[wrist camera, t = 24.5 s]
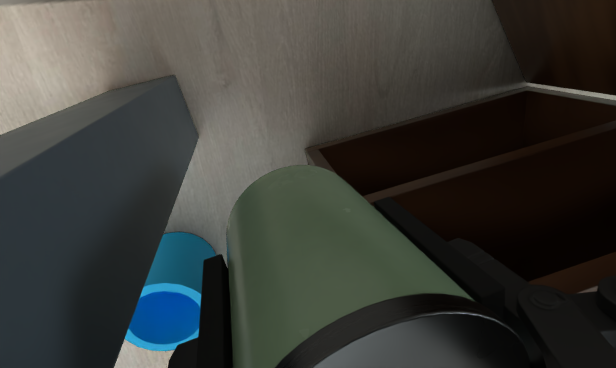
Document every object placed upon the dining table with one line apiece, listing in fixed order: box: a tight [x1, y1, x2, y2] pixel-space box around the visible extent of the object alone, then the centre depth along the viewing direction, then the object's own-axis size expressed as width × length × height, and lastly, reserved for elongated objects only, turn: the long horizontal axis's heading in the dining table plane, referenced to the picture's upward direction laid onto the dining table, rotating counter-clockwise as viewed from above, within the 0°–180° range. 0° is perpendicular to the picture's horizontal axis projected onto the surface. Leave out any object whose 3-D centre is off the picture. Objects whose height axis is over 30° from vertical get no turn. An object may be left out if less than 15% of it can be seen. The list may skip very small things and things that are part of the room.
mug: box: [125, 232, 216, 351], centre depth 32 cm, size 12×8×8 cm
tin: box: [226, 165, 531, 368], centre depth 12 cm, size 7×7×10 cm
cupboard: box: [305, 86, 616, 294], centre depth 28 cm, size 18×26×24 cm
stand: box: [0, 75, 199, 368], centre depth 17 cm, size 6×6×28 cm
